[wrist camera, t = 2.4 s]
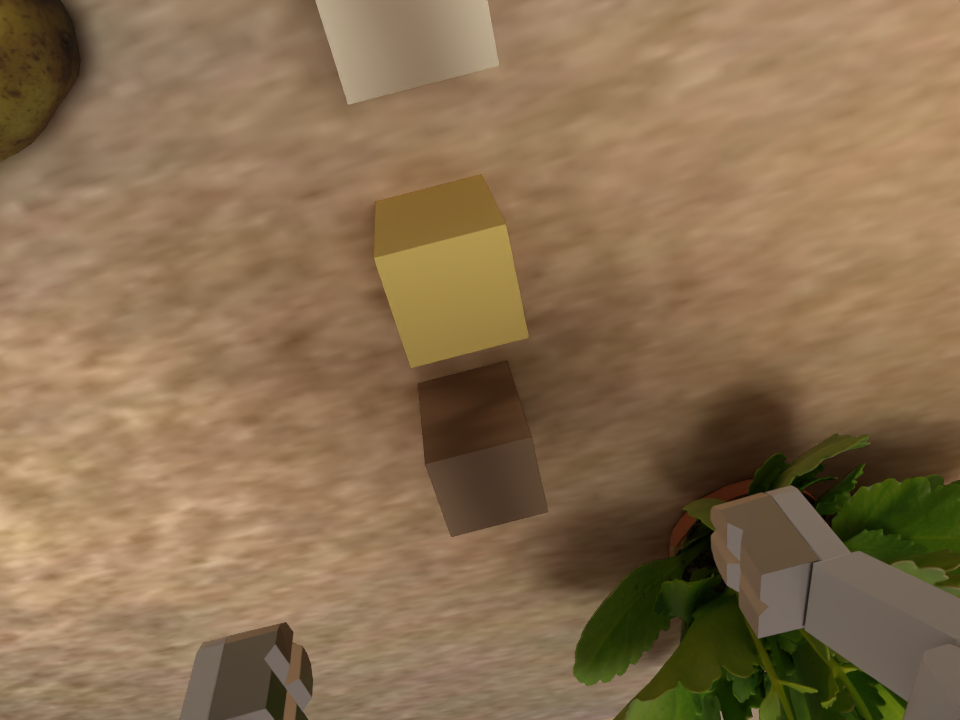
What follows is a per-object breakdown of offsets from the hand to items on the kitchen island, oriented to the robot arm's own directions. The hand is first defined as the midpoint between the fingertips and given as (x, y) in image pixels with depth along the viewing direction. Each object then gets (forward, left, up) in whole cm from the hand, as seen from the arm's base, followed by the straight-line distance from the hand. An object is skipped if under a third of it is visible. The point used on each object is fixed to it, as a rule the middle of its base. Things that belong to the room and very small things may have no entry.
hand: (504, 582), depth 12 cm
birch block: (+6, -7, -18) cm, 20 cm away
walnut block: (-6, +7, -18) cm, 20 cm away
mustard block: (0, 0, -18) cm, 18 cm away
